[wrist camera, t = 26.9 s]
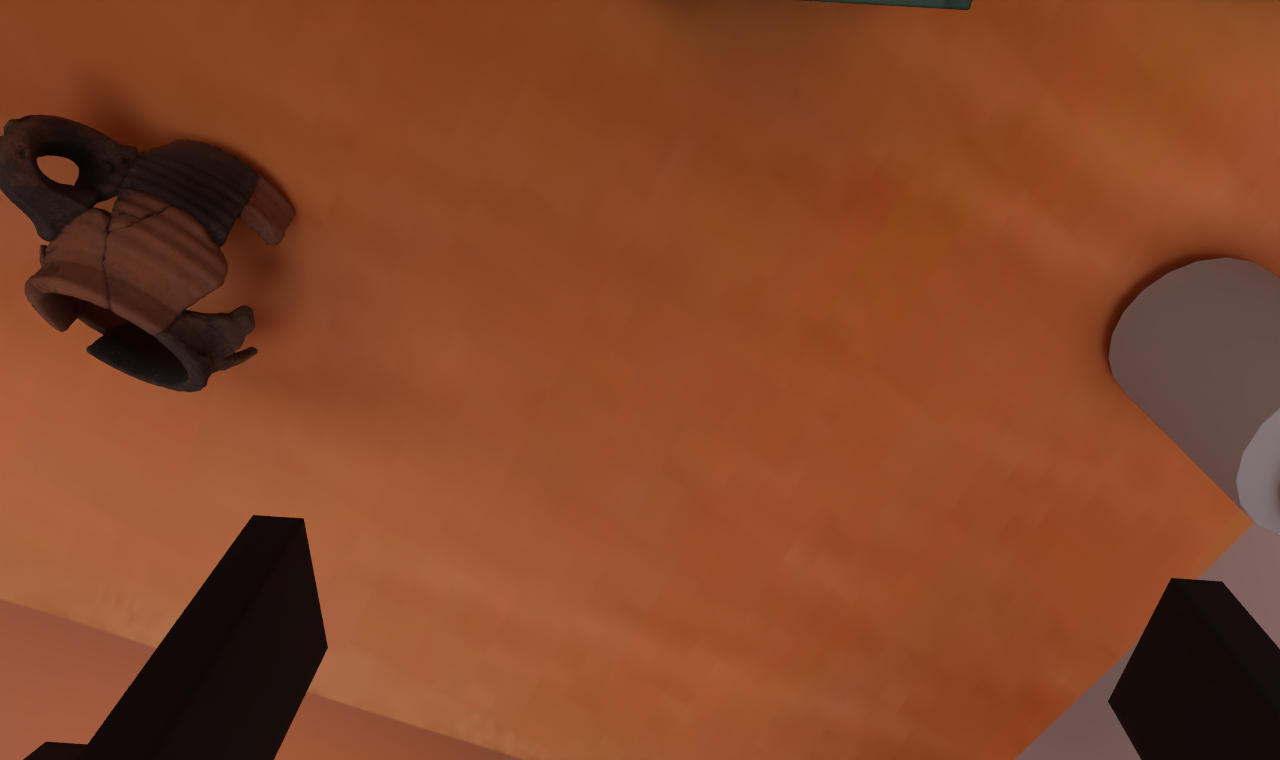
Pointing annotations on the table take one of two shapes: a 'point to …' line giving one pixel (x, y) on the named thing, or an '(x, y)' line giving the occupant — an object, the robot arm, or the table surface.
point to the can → (1211, 373)
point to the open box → (912, 3)
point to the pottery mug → (139, 244)
